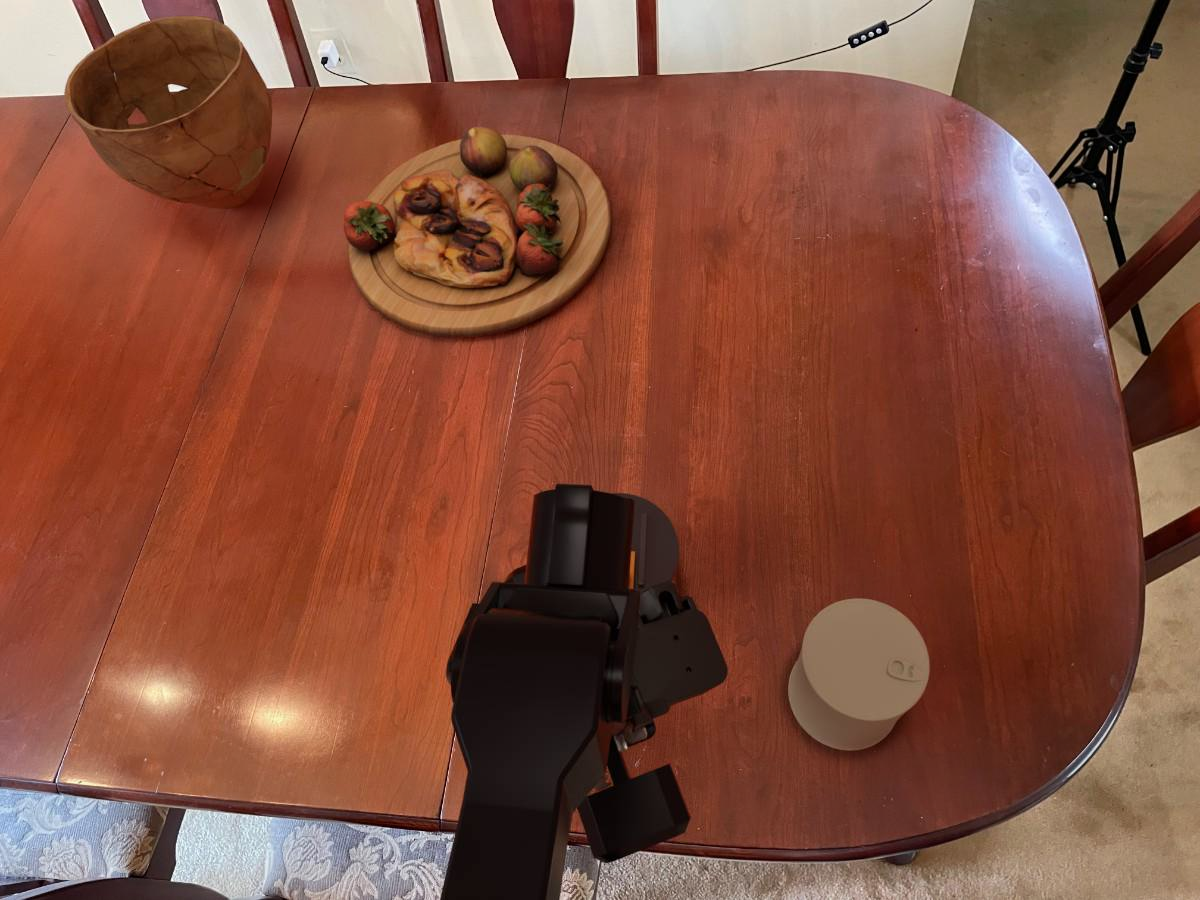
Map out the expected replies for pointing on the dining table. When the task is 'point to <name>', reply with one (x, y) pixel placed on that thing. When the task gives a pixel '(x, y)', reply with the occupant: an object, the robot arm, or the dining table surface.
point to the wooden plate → (478, 235)
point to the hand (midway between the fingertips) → (608, 701)
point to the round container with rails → (652, 545)
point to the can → (857, 673)
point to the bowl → (176, 110)
